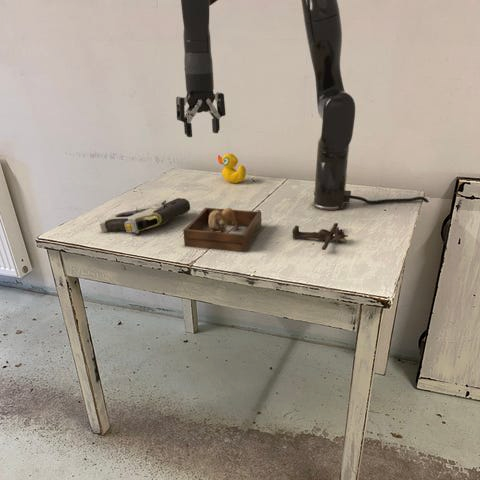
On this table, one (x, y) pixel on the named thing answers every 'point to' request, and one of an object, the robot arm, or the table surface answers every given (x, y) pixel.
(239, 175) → the duckling
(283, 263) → the table surface
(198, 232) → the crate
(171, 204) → the toy blaster
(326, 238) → the brown humanoid figurine
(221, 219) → the lion figurine
